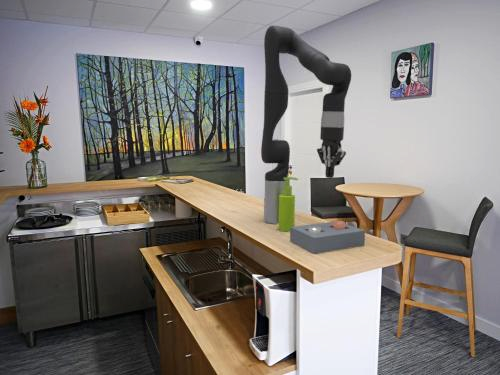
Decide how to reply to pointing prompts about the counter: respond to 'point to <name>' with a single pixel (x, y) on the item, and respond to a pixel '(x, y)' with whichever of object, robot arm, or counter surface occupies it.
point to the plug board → (326, 237)
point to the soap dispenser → (286, 206)
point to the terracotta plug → (338, 225)
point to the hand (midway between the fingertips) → (329, 177)
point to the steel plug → (314, 229)
